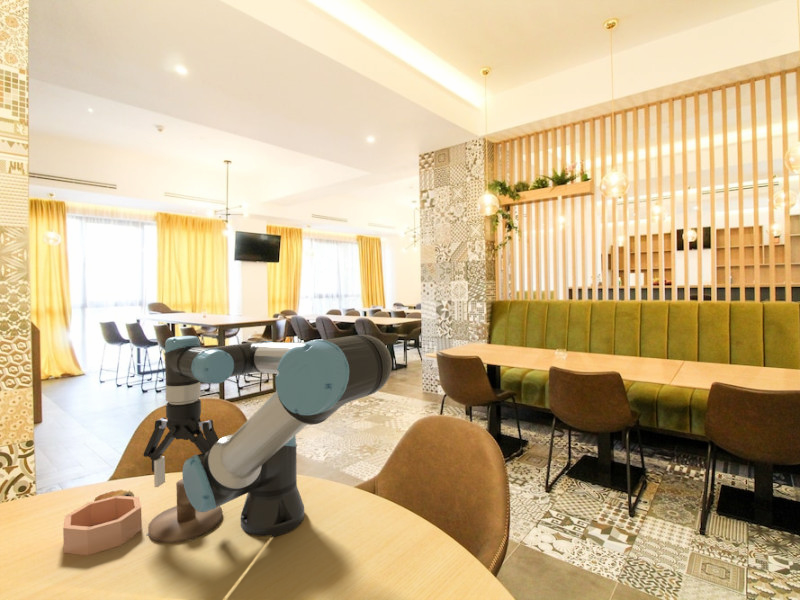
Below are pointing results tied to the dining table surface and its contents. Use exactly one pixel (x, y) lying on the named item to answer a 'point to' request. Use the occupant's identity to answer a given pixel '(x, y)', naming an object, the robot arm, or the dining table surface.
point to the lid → (182, 520)
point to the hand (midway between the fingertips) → (185, 486)
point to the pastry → (114, 494)
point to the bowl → (102, 525)
